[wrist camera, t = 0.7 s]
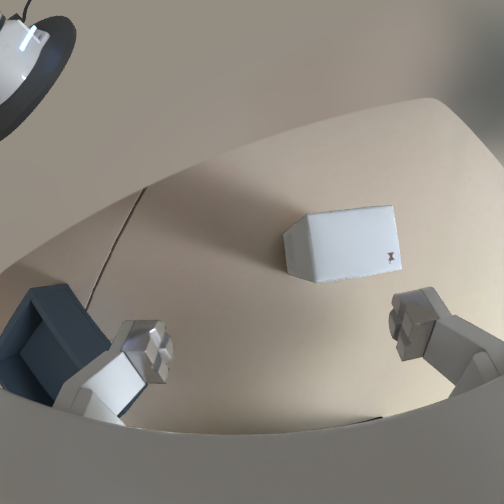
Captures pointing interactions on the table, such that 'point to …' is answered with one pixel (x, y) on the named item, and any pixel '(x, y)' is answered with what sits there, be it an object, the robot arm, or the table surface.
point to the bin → (49, 344)
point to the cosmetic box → (343, 244)
